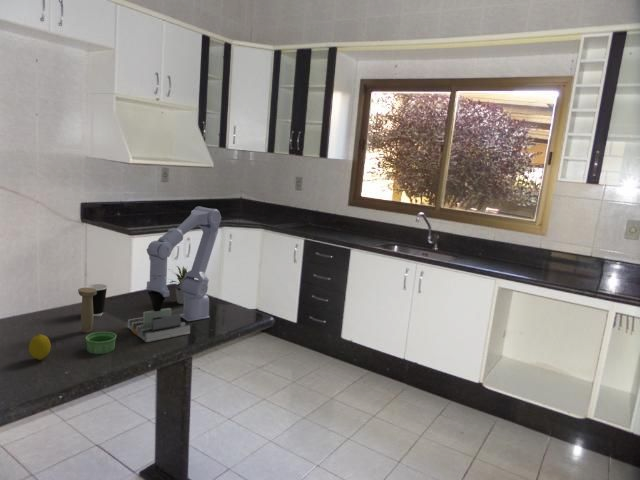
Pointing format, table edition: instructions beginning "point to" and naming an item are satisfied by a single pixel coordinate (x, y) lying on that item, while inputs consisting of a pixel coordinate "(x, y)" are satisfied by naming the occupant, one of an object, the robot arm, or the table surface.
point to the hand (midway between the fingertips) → (157, 310)
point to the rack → (159, 327)
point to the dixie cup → (98, 298)
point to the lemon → (39, 346)
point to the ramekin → (100, 342)
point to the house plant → (178, 291)
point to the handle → (87, 308)
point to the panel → (155, 315)
